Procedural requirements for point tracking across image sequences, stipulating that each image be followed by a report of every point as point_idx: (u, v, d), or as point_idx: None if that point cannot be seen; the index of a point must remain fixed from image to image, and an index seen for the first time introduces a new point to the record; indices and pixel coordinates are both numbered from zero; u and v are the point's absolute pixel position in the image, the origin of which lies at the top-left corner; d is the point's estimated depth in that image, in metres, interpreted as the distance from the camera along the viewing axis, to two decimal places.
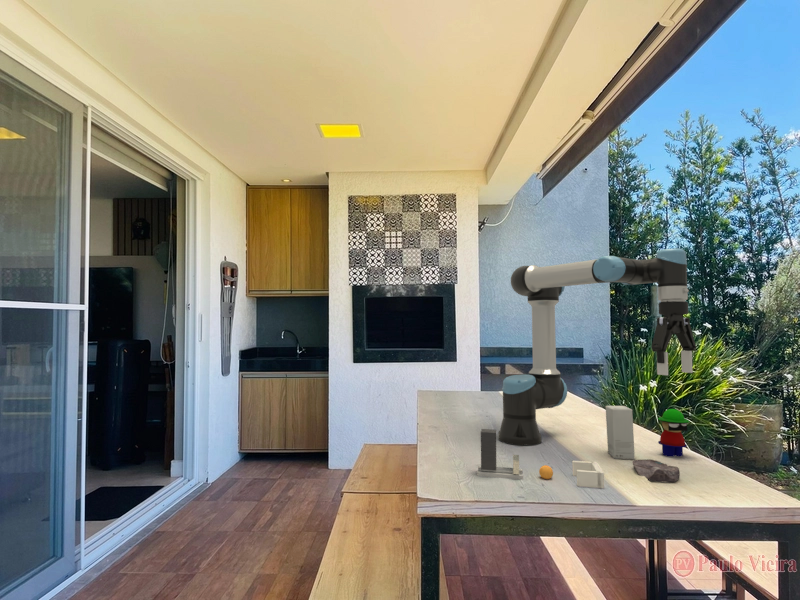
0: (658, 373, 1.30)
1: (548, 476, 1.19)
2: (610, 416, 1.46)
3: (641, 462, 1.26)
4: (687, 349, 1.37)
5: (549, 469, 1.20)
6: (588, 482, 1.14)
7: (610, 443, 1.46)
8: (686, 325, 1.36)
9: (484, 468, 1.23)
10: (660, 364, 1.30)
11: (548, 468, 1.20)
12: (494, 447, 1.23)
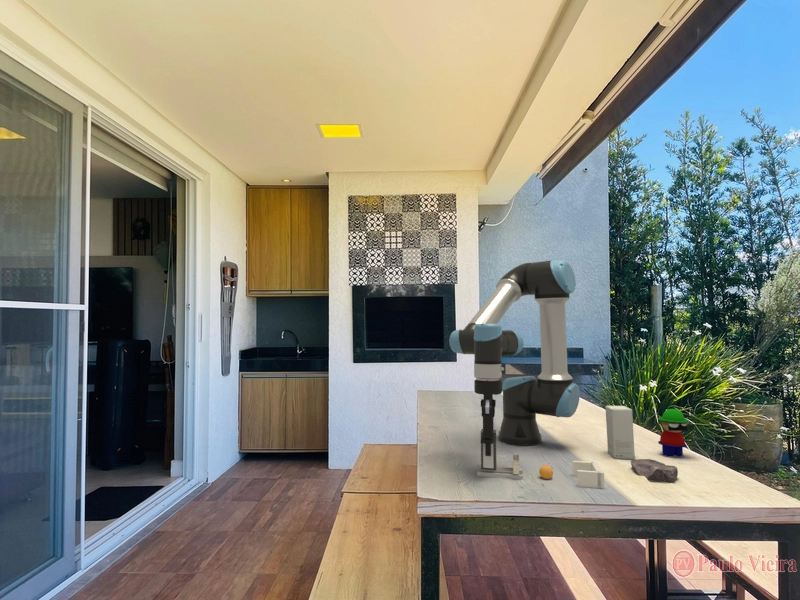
0: (484, 466, 1.22)
1: (548, 476, 1.19)
2: (610, 416, 1.46)
3: (640, 462, 1.27)
4: None
5: (549, 469, 1.20)
6: (588, 482, 1.14)
7: (610, 443, 1.46)
8: None
9: (484, 468, 1.23)
10: (486, 456, 1.22)
11: (548, 468, 1.20)
12: (494, 447, 1.23)
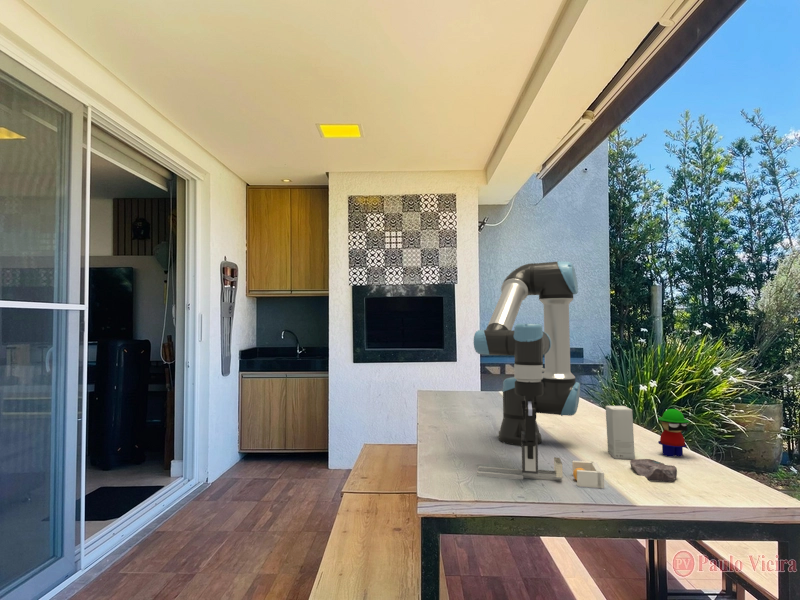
0: (526, 469, 1.20)
1: None
2: (610, 416, 1.46)
3: (639, 462, 1.27)
4: None
5: (576, 472, 1.18)
6: (588, 482, 1.14)
7: (610, 443, 1.46)
8: None
9: (525, 471, 1.20)
10: (528, 459, 1.20)
11: (575, 473, 1.18)
12: (536, 450, 1.20)
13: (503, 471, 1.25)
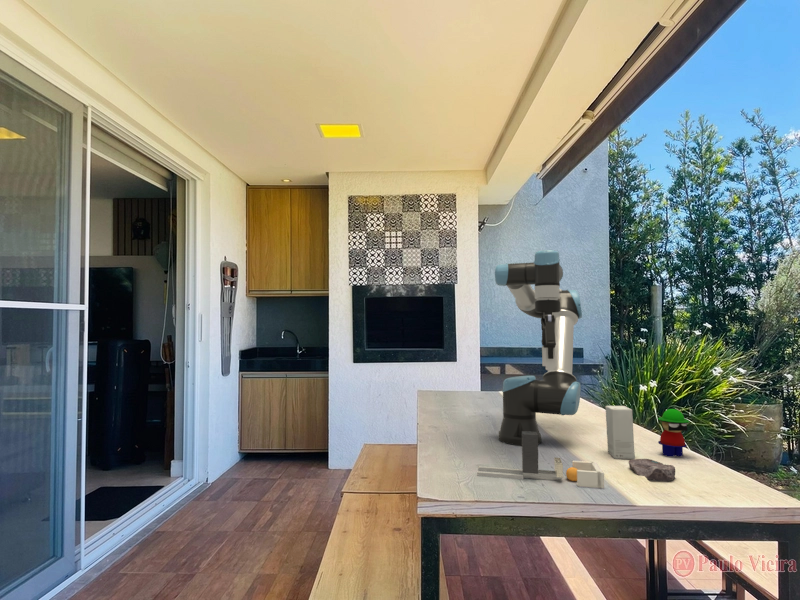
0: (547, 368, 1.34)
1: (573, 473, 1.18)
2: (610, 416, 1.46)
3: (638, 462, 1.27)
4: (546, 344, 1.48)
5: (568, 476, 1.19)
6: (588, 482, 1.14)
7: (610, 443, 1.46)
8: None
9: (526, 471, 1.20)
10: (549, 360, 1.34)
11: (568, 477, 1.19)
12: (536, 450, 1.20)
13: (503, 471, 1.25)
